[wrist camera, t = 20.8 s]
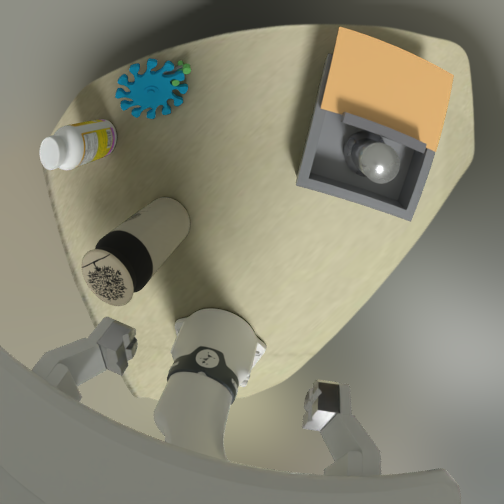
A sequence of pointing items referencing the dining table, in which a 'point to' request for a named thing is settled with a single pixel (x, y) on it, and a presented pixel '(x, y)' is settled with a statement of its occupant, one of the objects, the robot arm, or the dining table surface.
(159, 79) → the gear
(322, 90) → the housing
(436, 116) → the lid
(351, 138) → the silver rounded cylinder
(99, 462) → the robot arm
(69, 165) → the supplement bottle
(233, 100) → the dining table surface
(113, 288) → the travel mug
